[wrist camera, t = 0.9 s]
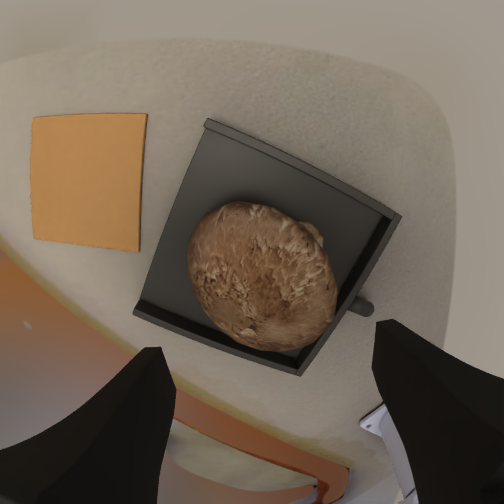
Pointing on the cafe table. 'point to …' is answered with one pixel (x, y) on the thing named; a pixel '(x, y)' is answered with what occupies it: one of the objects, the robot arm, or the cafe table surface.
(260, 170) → the pan
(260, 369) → the cafe table surface
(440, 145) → the cafe table surface
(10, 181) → the cafe table surface
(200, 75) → the cafe table surface
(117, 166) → the mat
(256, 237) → the mushroom
